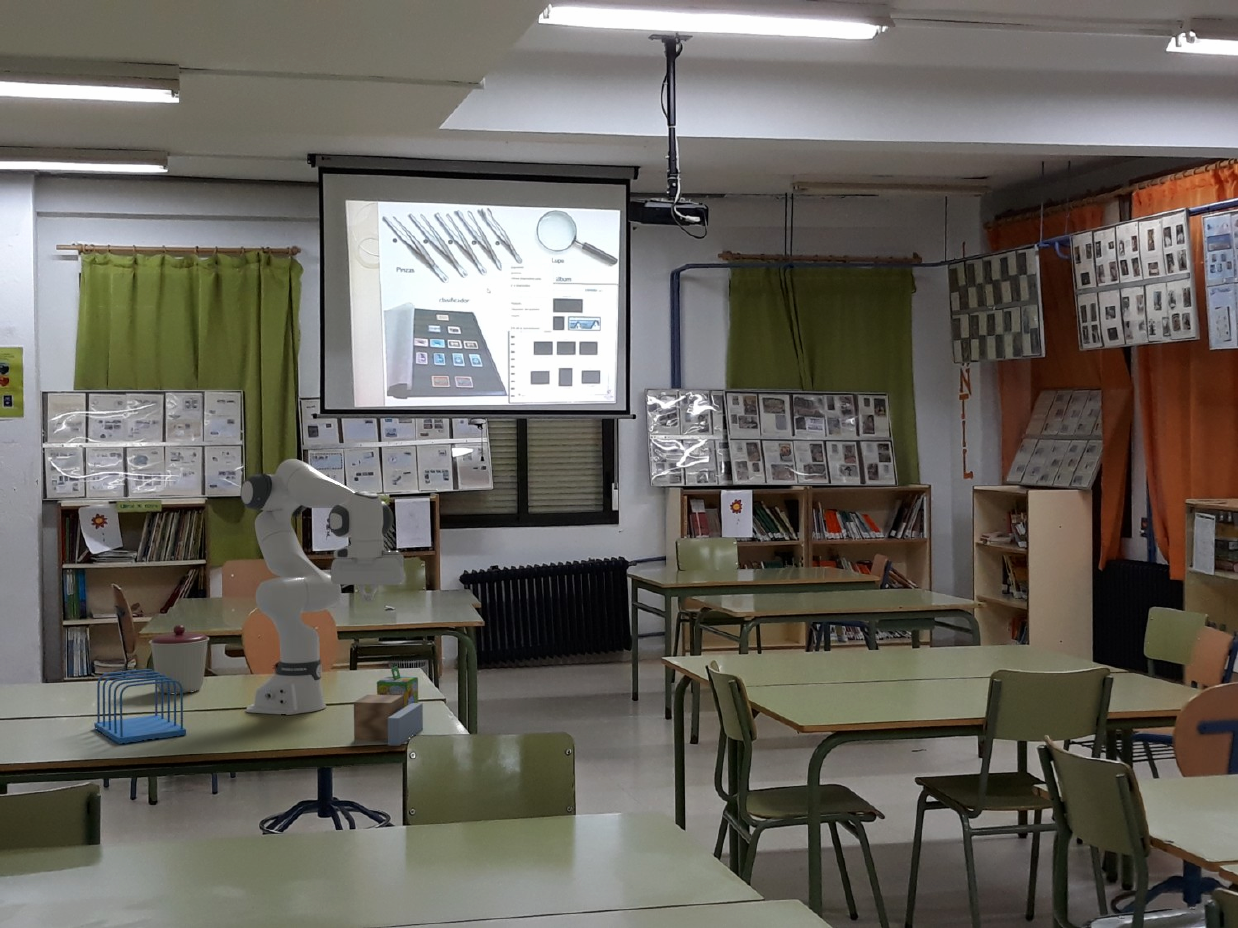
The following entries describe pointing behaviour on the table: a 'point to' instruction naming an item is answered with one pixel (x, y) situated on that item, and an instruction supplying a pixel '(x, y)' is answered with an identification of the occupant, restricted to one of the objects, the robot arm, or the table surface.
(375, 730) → the walnut cube
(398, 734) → the board
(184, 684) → the canister
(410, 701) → the chalk box
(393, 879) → the table surface
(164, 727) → the file sorter
